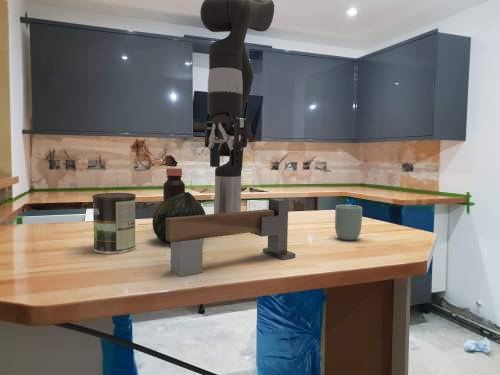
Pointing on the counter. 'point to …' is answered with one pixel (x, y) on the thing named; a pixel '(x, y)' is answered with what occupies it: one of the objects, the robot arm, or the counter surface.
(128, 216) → the coffee can
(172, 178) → the bottle
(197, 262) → the rest block
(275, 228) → the bracket
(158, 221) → the squash
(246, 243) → the counter surface
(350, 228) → the cup
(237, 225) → the rail
